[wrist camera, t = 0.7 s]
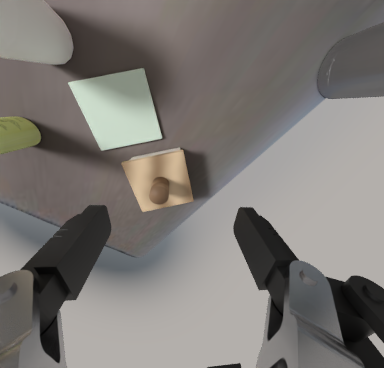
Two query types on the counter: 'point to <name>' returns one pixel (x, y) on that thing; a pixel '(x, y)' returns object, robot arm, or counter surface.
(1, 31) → the foam cup
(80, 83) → the mat
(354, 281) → the robot arm
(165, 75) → the counter surface
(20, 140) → the tube
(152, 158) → the lid
